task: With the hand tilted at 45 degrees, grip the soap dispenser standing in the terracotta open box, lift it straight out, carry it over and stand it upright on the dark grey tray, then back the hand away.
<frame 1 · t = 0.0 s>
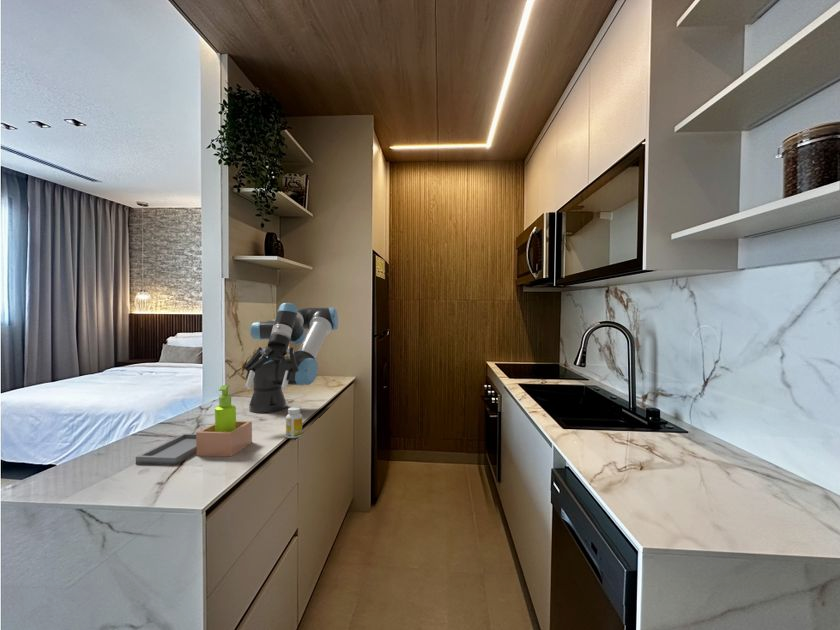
hand: (265, 388, 139), 15 cm above the counter, tool tilted 35°, fingers open, 13 cm apart
supplement bottle: (294, 436, 133), on the counter
terracotta open box: (225, 448, 121), on the counter
soap dispenser: (225, 449, 121), resting in terracotta open box
grey tray: (180, 451, 119), on the counter
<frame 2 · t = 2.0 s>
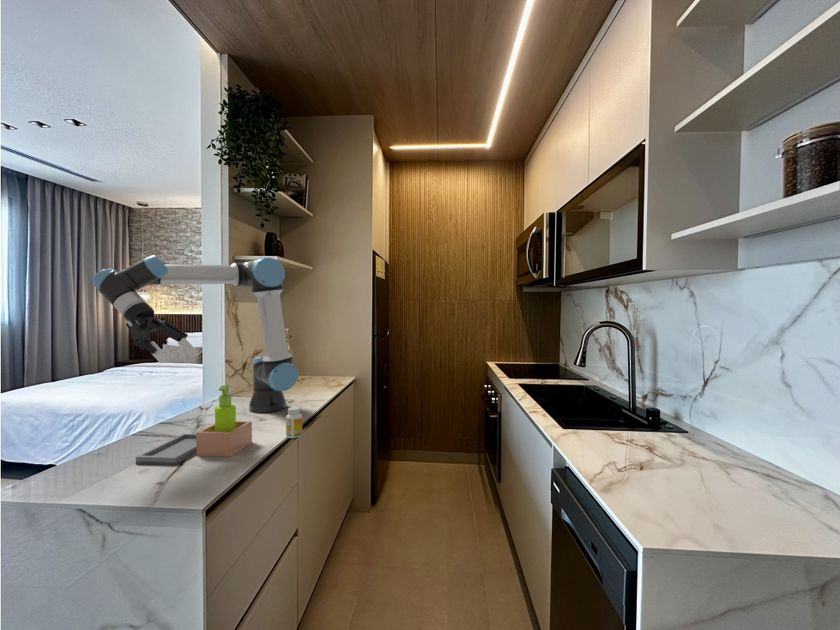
hand: (180, 357, 121), 29 cm above the counter, tool tilted 45°, fingers open, 13 cm apart
nothing on the counter moved.
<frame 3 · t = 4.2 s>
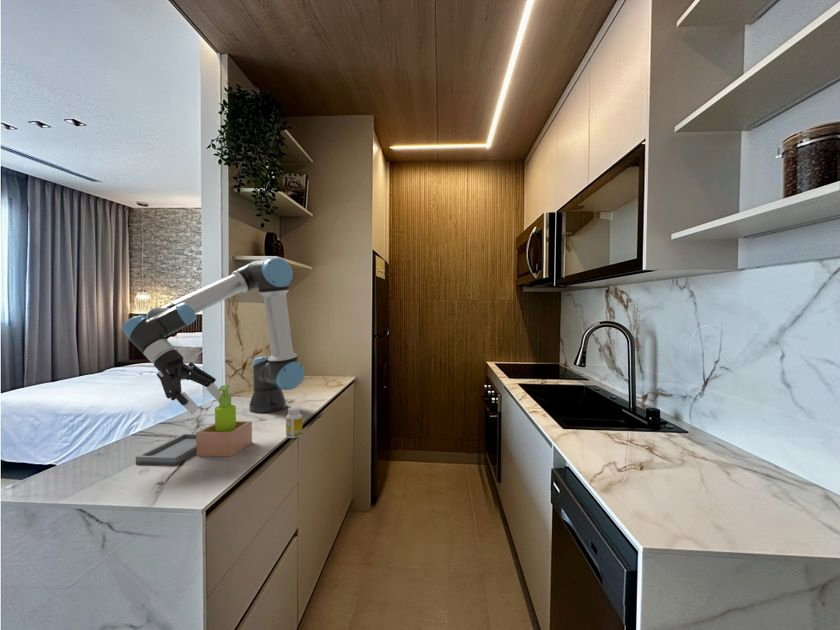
hand: (210, 405, 120), 14 cm above the counter, tool tilted 45°, fingers open, 13 cm apart
nothing on the counter moved.
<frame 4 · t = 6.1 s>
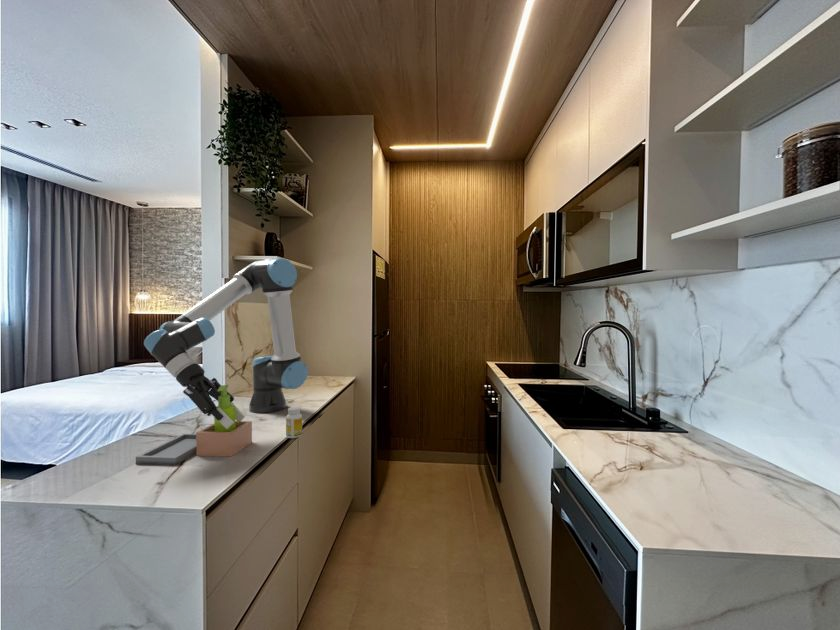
hand: (236, 422, 121), 8 cm above the counter, tool tilted 45°, fingers closed on soap dispenser, 6 cm apart
soap dispenser: (225, 448, 121), resting in terracotta open box, touching gripper
everything else where it was.
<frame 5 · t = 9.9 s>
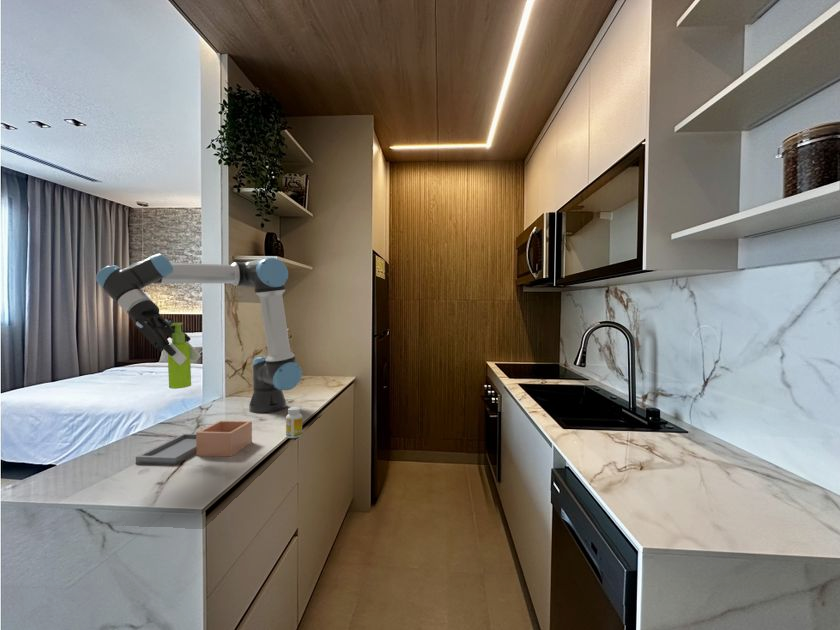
hand: (190, 360, 118), 28 cm above the counter, tool tilted 45°, fingers closed on soap dispenser, 6 cm apart
soap dispenser: (179, 387, 119), point 20 cm above the counter, touching gripper
everything else where it was.
when the fingers open (11 cm above the counter, at t = 13.6 s): soap dispenser drops 1 cm, resting on grey tray.
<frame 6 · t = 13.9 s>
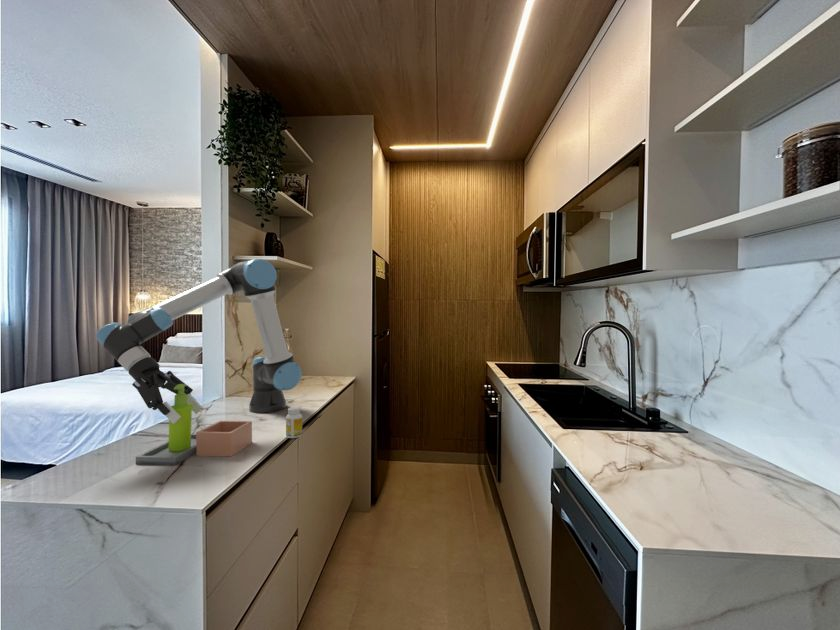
hand: (188, 415, 119), 11 cm above the counter, tool tilted 45°, fingers open, 9 cm apart
soap dispenser: (179, 449, 119), point 1 cm above the counter, touching grey tray
everything else where it was.
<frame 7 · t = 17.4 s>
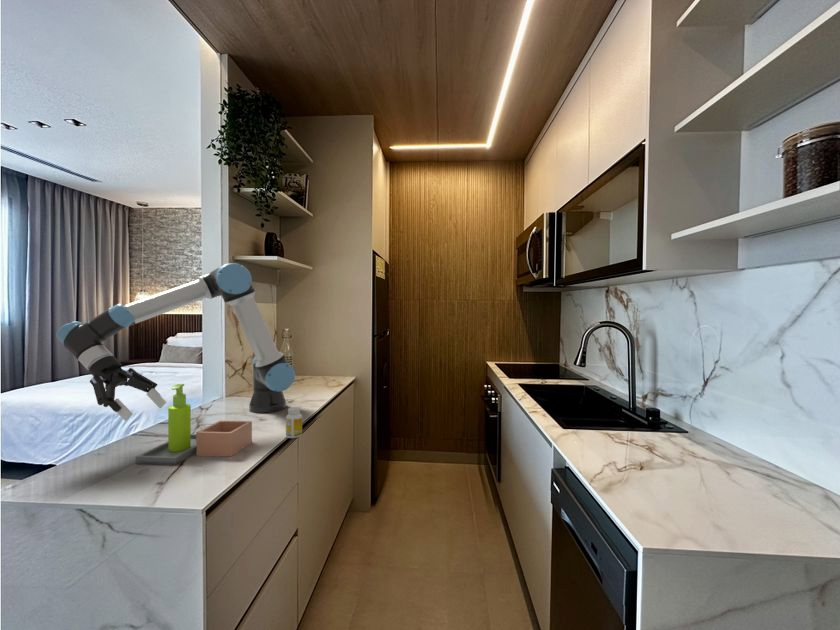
hand: (147, 411, 120), 12 cm above the counter, tool tilted 45°, fingers open, 13 cm apart
nothing on the counter moved.
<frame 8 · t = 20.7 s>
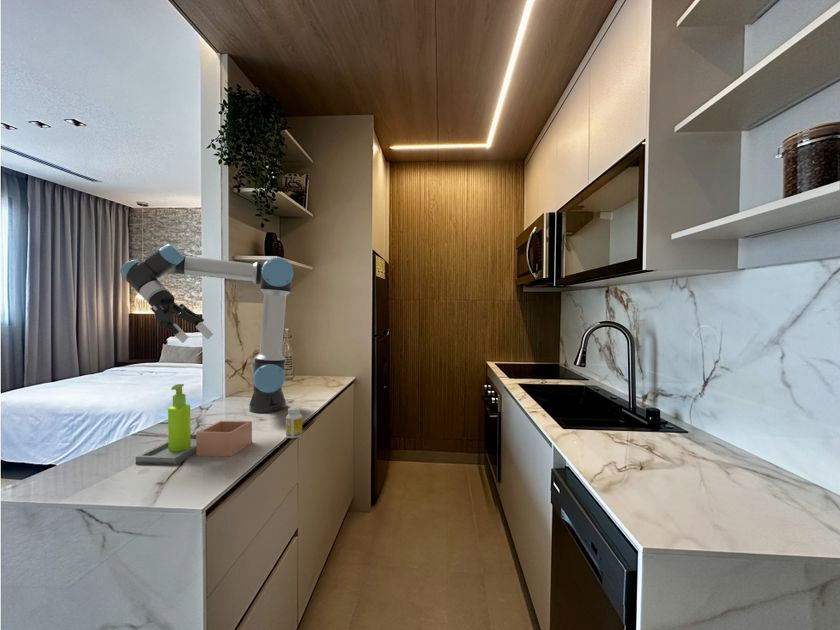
hand: (198, 338, 137), 34 cm above the counter, tool tilted 45°, fingers open, 13 cm apart
nothing on the counter moved.
at the end: soap dispenser inside the target area on the grey tray (0.3 cm from its centre), point 0.6 cm above the grey tray's base; soap dispenser tilted 0°; the gripper is holding nothing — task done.
